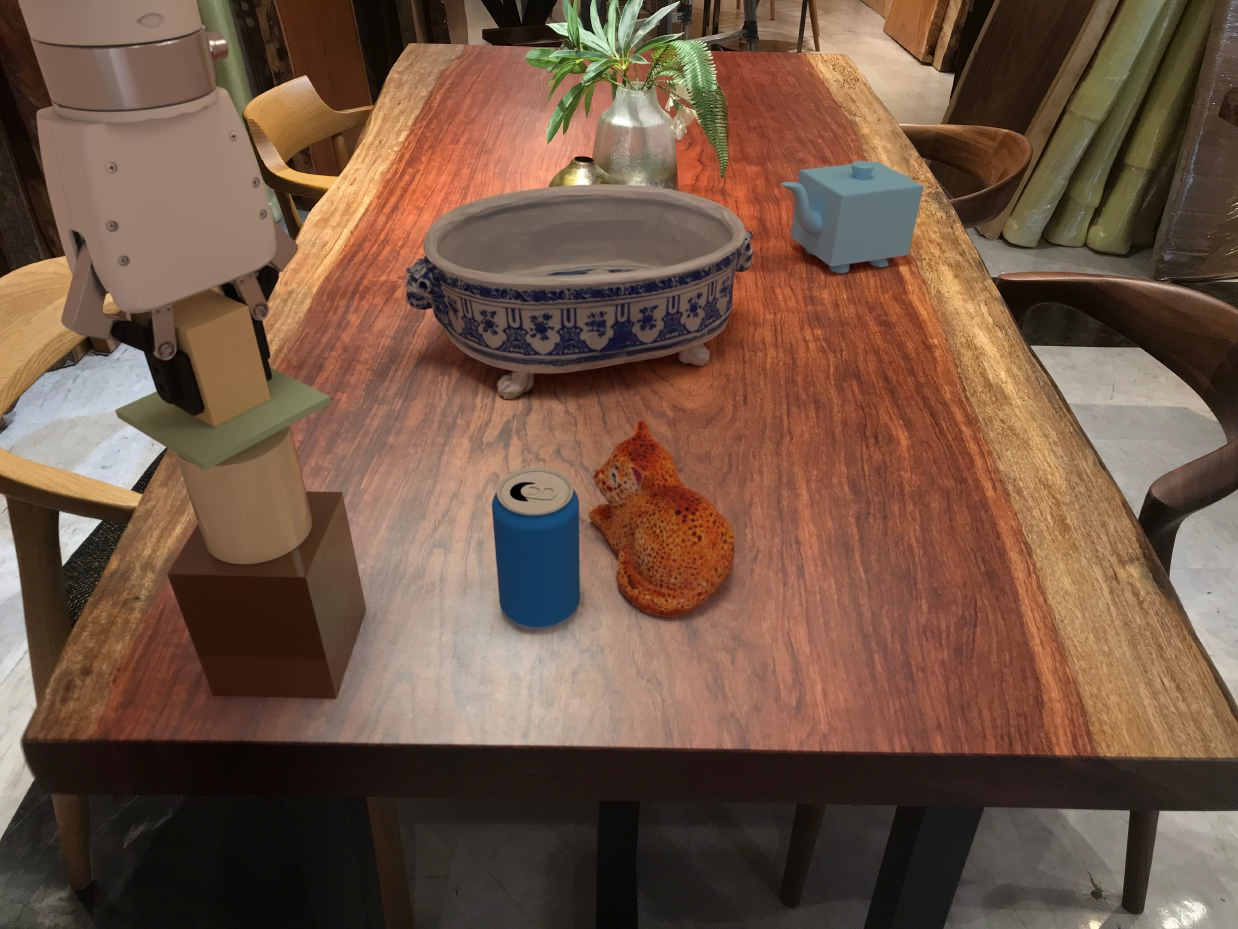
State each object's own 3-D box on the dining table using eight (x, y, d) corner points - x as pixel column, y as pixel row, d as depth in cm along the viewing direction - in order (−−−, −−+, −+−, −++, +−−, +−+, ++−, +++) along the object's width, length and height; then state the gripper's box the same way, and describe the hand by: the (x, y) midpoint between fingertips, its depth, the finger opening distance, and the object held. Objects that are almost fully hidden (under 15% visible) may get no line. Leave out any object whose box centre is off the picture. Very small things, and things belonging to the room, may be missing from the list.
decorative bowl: (701, 276, 125) (710, 169, 117) (795, 366, 105) (814, 245, 97) (396, 319, 113) (380, 203, 104) (437, 430, 93) (421, 298, 84)
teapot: (878, 235, 139) (896, 145, 131) (921, 263, 131) (944, 169, 122) (752, 253, 132) (763, 159, 124) (789, 283, 124) (804, 185, 116)
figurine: (568, 522, 81) (567, 431, 75) (671, 491, 85) (677, 402, 79) (649, 635, 70) (654, 538, 64) (762, 593, 74) (777, 498, 69)
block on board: (204, 471, 51) (170, 363, 46) (117, 417, 55) (79, 314, 51) (331, 403, 57) (311, 302, 52) (244, 360, 61) (219, 263, 57)
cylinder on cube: (336, 698, 65) (280, 478, 53) (212, 695, 65) (129, 474, 53) (366, 609, 72) (323, 398, 60) (255, 606, 72) (190, 394, 60)
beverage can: (510, 574, 76) (502, 459, 69) (585, 582, 75) (585, 467, 68) (491, 629, 70) (480, 512, 63) (571, 639, 70) (570, 521, 63)
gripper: (232, 35, 51) (294, 323, 62) (-93, 92, 40) (51, 430, 51) (318, 55, 48) (367, 356, 59) (-12, 122, 37) (124, 478, 47)
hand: (219, 387), depth 55 cm, fingers closed on block on board, 4 cm apart
